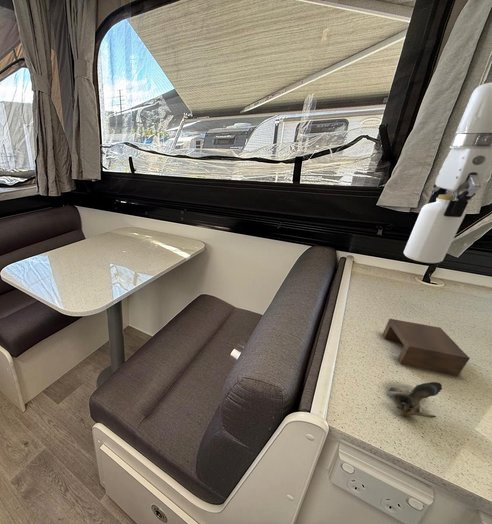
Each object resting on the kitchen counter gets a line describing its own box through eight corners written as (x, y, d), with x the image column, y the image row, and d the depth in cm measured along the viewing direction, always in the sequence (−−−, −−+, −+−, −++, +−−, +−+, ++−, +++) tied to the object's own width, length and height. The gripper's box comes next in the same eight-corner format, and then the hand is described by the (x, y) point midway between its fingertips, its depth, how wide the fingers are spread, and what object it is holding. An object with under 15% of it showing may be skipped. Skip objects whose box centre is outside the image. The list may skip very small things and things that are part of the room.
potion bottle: (415, 252, 82) (441, 192, 75) (449, 262, 75) (482, 197, 68) (395, 254, 81) (419, 194, 73) (427, 265, 73) (458, 199, 66)
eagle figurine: (445, 436, 46) (451, 399, 51) (428, 402, 46) (435, 367, 50) (389, 423, 53) (399, 391, 57) (373, 393, 52) (384, 363, 57)
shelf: (429, 346, 68) (440, 327, 65) (456, 379, 59) (470, 358, 56) (381, 337, 71) (389, 318, 69) (398, 366, 62) (409, 346, 60)
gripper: (524, 142, 56) (483, 222, 64) (472, 141, 71) (442, 206, 78) (476, 142, 59) (441, 219, 66) (435, 142, 74) (409, 205, 81)
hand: (442, 212), depth 72 cm, fingers closed on potion bottle, 8 cm apart
